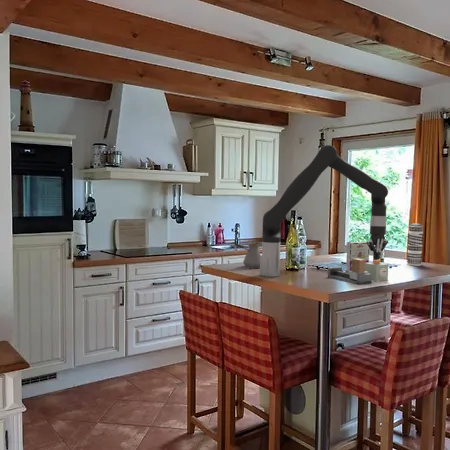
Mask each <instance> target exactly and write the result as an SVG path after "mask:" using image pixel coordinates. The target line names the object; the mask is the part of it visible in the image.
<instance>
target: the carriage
mask: <svg viewBox="0 0 450 450" xmlns="http://www.w3.org/2000/svg"><path fill="white" fill-rule="evenodd" d="M347 273H348V274H349V275H350V278H351V279H355V280H357V275H358V274H368V272H365V260H364V259H359V258H355V259H352V271H348V272H347Z"/></svg>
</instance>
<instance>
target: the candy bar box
mask: <svg viewBox="0 0 450 450" xmlns="http://www.w3.org/2000/svg"><path fill="white" fill-rule="evenodd" d="M366 242H367V241H347V242H346V262H345V263H346V265H345V269H346V271H345V272H347V273H348V271H352V259H355V258H359V259H364V260H365V263H369V262H370V248H369V246H368V245H367V243H366Z"/></svg>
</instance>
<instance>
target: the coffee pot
mask: <svg viewBox="0 0 450 450" xmlns="http://www.w3.org/2000/svg"><path fill="white" fill-rule="evenodd" d="M232 244H233V245H234V246H237V247H238V248H242V249H244V250H246V251H247V252H246V254H245V257H244V258H243V262H242V263H243V265H244V266H245V267H246V268H247V269H260V257H261V256H262V254H261V252H260V250H259V248H260V247H259V246H260V244H257V243H248V244H247V246H248V248H247V247H244V246H243V245H241V244H239V243H236V242H234V241H233V242H231V244H230V245H232Z"/></svg>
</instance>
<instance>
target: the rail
mask: <svg viewBox="0 0 450 450" xmlns="http://www.w3.org/2000/svg"><path fill="white" fill-rule="evenodd" d="M327 277H328V278H332V279H335V280H339V281H343V282H347V283H352V284H353V285H359V286H361V285H363V286H364V285H371V284H372V283H373V281H372V274H370V273H369V274H358V275H357V280H355V279H351V278H350V275H349V274H348V272H347V271H343V267H341V266H336V267H335V266H334V267H328V268H327Z"/></svg>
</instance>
